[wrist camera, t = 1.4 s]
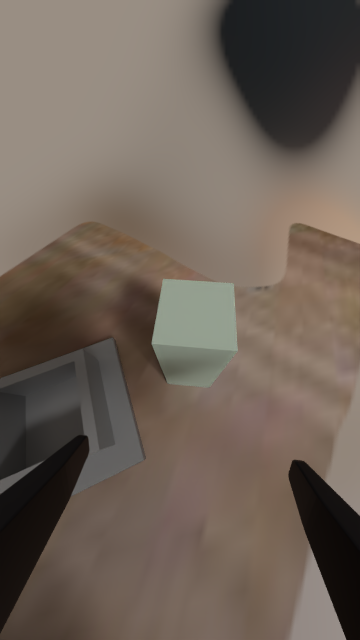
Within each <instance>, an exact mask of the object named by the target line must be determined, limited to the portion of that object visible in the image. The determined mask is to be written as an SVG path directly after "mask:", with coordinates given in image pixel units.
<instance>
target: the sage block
mask: <svg viewBox="0 0 360 640" xmlns="http://www.w3.org/2000/svg"><path fill="white" fill-rule="evenodd" d="M152 346H153V349H154V351H155V354H156V356H157V358H158V361H159V363H160V366H161V368H162V371H163V373H164V376H165V378H166V381H167V383H168V384H177V385H187V386H197V387H207V388H209V387H210V386H211V385H212V384H213V382H214V381H215V380H216V378H217V377H218V376H219V374H220V373H221V372H222V371H223V369H224V368H225V367H226V365H227V364H228V363H229V362H230V360H231V359H232V358H233V356H234V355H235V354H236V352H237V351H238V350H237V333H236V316H235V298H234V284H233V283H220V282H204V281H188V280H173V279H163V283H162V289H161V294H160V300H159V305H158V311H157V316H156V322H155V327H154V333H153V338H152Z"/></svg>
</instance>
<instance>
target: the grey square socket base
mask: <svg viewBox="0 0 360 640" xmlns="http://www.w3.org/2000/svg"><path fill="white" fill-rule="evenodd" d="M78 435H87V436H88V439H89V448H90V450H89V454H88V457H87V459H86V462H85V464H84V466H83V469H82V471H81V474H80V476H79V478H78V481H77V483H76V486H75V488H74V490H73V493H72V495H71V496H73V495H75V494H77V493H79V492H81V491H83V490H85V489H87V488H89V487H91V486H93V485H95V484H97V483H99V482H101V481H103V480H105V479H107V478H109V477H111V476H113V475H115V474H117V473H119V472H121V471H123V470H125V469H127V468H129V467H131V466H133V465H135V464H137V463H139V462H141V461H143V460H145V459H146V457H145V453H144V449H143V445H142V441H141V438H140V434H139V430H138V426H137V422H136V418H135V415H134V411H133V407H132V403H131V399H130V395H129V392H128V388H127V384H126V380H125V376H124V372H123V369H122V365H121V361H120V357H119V353H118V349H117V346H116V342H115V340H114V338H110V339H107V340H104V341H102V342H99V343H96V344H93V345H91V346H88V347H85V348H82V349H80V350H77V351H74V352H71V353H69V354H66V355H63V356H60V357H58V358H55V359H52V360H49V361H47V362H44V363H41V364H38V365H35V366H33V367H30V368H27V369H24V370H22V371H19V372H16V373H13V374H11V375H8V376H5V377H2V378H0V494H1V493H3V492H4V491H5V490H7V489H8V488H9V487H10V486H12V485H13V484H14V483H16V482H17V481H18V480H20V479H21V478H22V477H24V476H25V475H26V474H27V473H29V472H30V471H31V470H33V469H34V468H35V467H37V466H38V465H39V464H41V463H42V462H43V461H45V460H46V459H47V458H48V457H50V456H51V455H52V454H54V453H55V452H56V451H58V450H59V449H60V448H62V447H63V446H64V445H65V444H67V443H68V442H69V441H71V440H72V439H73V438H75V437H76V436H78Z"/></svg>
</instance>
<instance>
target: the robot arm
mask: <svg viewBox="0 0 360 640" xmlns="http://www.w3.org/2000/svg"><path fill="white" fill-rule="evenodd" d="M89 450H90V448H89V439H88V436H87V435H78V436H76V437H75V438H73V439H72V440H71V441H69V442H68V443H67V444H65V445H64V446H63V447H62V448H60V449H59V450H58V451H56V452H55V453H54V454H52V455H51V456H50V457H48V458H47V459H46V460H45V461H43V462H42V463H41V464H39V465H38V466H37V467H35V468H34V469H33V470H31V471H30V472H29V473H27V474H26V475H25V476H24V477H22V478H21V479H20V480H18V481H17V482H16V483H14V484H13V485H12V486H10V487H9V488H8V489H7V490H5V491H4V492H3V493H1V494H0V633H1V631H2V629H3V627H4V625H5V623H6V621H7V619H8V617H9V615H10V613H11V612H12V610H13V608H14V606H15V604H16V602H17V600H18V598H19V596H20V594H21V592H22V590H23V588H24V586H25V584H26V583H27V581H28V579H29V577H30V575H31V573H32V571H33V569H34V567H35V565H36V563H37V561H38V559H39V557H40V555H41V554H42V552H43V550H44V548H45V546H46V544H47V542H48V540H49V538H50V536H51V534H52V532H53V530H54V528H55V526H56V524H57V523H58V521H59V519H60V517H61V515H62V513H63V511H64V509H65V507H66V505H67V503H68V501H69V499H70V497H71V495H72V493H73V490H74V488H75V486H76V483H77V481H78V478H79V476H80V474H81V471H82V469H83V466H84V464H85V462H86V459H87V457H88V454H89ZM289 481H290V484H291V488H292V491H293V494H294V498H295V501H296V504H297V508H298V511H299V514H300V518H301V521H302V524H303V527H304V530H305V533H306V536H307V538H308V541H309V544H310V546H311V549H312V551H313V554H314V557H315V559H316V562H317V564H318V567H319V570H320V572H321V575H322V577H323V580H324V583H325V585H326V588H327V590H328V593H329V596H330V598H331V601H332V603H333V606H334V609H335V611H336V614H337V616H338V619H339V622H340V624H341V627H342V629H343V632H344V635H345V637H346V640H360V516H359V515H358V514H357V513H356V512H355V511H354V510H353V509H352V508H351V507H350V506H349V505H348V504H347V503H346V502H345V501H344V500H343V499H342V498H341V497H340V496H339V495H338V494H337V493H336V492H335V491H334V490H333V489H332V488H331V487H330V486H329V485H328V484H327V483H326V482H325V481H324V480H323V479H322V478H321V477H320V476H319V475H318V474H317V473H316V472H315V471H314V470H313V469H312V468H311V467H310V466H309V465H308V464H307V463H306V462H304V461H302V460H293V461H292V464H291V467H290V470H289Z"/></svg>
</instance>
